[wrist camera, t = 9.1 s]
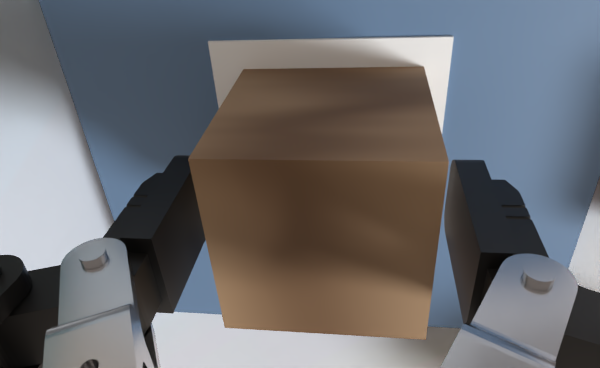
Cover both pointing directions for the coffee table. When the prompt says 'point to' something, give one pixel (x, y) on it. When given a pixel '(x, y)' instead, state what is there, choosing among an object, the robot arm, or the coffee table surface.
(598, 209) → the coffee table surface
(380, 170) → the walnut block
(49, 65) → the coffee table surface
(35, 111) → the coffee table surface
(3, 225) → the coffee table surface
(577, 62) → the board
